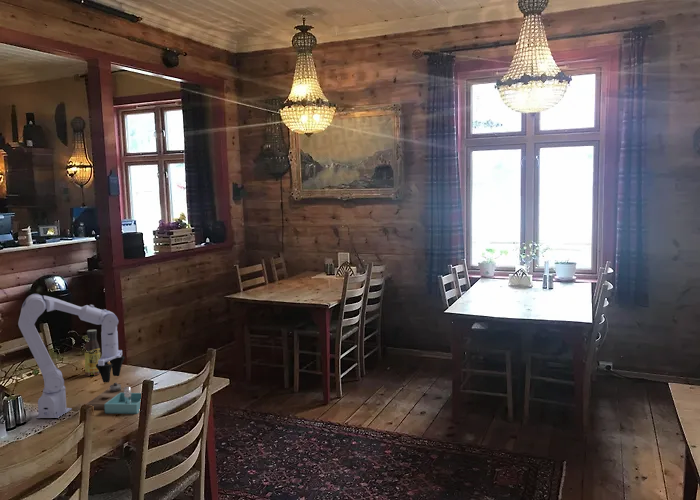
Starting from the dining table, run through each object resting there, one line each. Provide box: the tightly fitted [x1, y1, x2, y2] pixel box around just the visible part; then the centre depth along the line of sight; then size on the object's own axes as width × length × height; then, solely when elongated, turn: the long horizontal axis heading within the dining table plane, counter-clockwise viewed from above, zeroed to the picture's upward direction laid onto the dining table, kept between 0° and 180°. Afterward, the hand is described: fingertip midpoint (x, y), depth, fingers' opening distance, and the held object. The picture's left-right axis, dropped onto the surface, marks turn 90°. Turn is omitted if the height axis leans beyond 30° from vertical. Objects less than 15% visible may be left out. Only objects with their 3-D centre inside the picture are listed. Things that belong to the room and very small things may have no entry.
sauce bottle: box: [84, 329, 101, 377], centre depth 251 cm, size 7×6×20 cm
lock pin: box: [123, 386, 132, 404], centre depth 212 cm, size 2×2×7 cm
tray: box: [104, 392, 142, 415], centre depth 212 cm, size 12×12×4 cm
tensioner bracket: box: [86, 382, 125, 410], centre depth 219 cm, size 18×8×5 cm, turn 176°
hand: (111, 378), depth 215 cm, fingers open, 7 cm apart
